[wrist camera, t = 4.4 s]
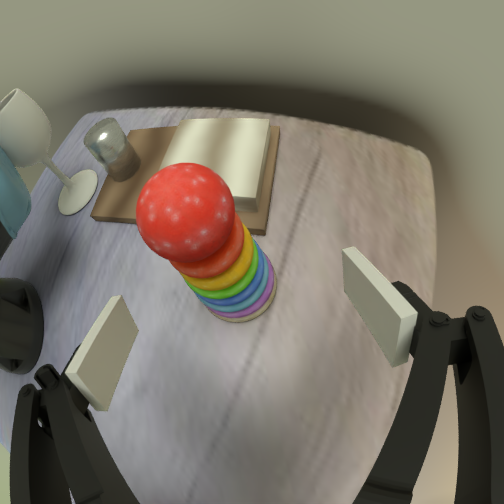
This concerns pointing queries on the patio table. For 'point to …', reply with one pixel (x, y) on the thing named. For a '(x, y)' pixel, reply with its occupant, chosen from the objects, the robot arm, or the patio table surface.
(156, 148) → the board
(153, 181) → the stacking toy
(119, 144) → the grey brown short cylinder
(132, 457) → the patio table surface
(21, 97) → the wineglass
